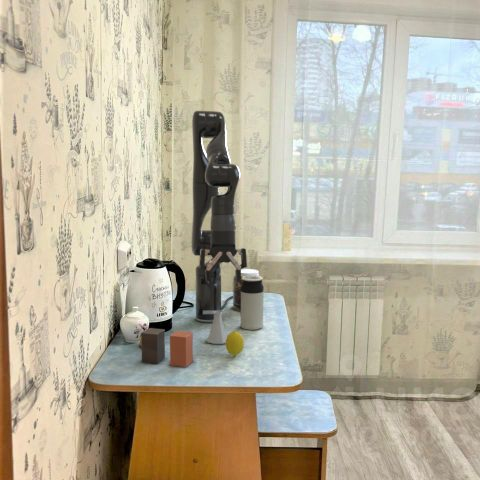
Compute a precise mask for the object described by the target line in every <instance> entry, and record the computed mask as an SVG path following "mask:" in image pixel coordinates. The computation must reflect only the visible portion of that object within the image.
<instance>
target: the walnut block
mask: <svg viewBox="0 0 480 480" xmlns="http://www.w3.org/2000/svg"><path fill="white" fill-rule="evenodd" d="M165 331H166V330H165V328H164V329H163V328H155V327H148V328H147V329H145V330H144V331H142V332H141V334H140V338H141V343H142V347H141V363H145V364H154V365H158V364H159V363H161V362H162V361H163V360H165V359H166V340H165V339H166V337H165V335H166V333H165Z"/></svg>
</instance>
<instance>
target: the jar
mask: <svg viewBox="0 0 480 480" xmlns="http://www.w3.org/2000/svg"><path fill="white" fill-rule="evenodd" d="M248 275H256V276H261V274H259V270H258V269H255V268H254V269H253V268H243V269H241V280H239V282H236V281H235V275H234V276H233V280H232V281H233V282H232V296H233V298H232V309H233V310H235V311H237V312H241V285H242V284H243V280H242V277H243V276H248ZM261 277H263V276H261ZM263 280H264V279H262V284H263V282H264V281H263ZM263 285H264V284H263Z"/></svg>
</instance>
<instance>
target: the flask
mask: <svg viewBox="0 0 480 480" xmlns="http://www.w3.org/2000/svg"><path fill="white" fill-rule="evenodd" d="M223 312H224V311H223V310H221V311H220V310H219V311H213V314H214V321H213V322H212V325H211V328H210V331H209V334H208V336H207V340H206V342H207V343H209V344H213V345H223V344H226V339H227V336H228V333H227V330H226V328H225V324H224V322H223V314H224V313H223Z"/></svg>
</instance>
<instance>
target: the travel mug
mask: <svg viewBox="0 0 480 480" xmlns="http://www.w3.org/2000/svg"><path fill="white" fill-rule="evenodd" d="M242 280H243V284H242V285H241V311H240V328H241V329H243V330H247V331H256V330H260V329H262V328H263V327H264V289H265V286H264V284H262V280H264V277H263V276H262V277H261V275H260V276H256V275H248V276H243V277H242Z"/></svg>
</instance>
